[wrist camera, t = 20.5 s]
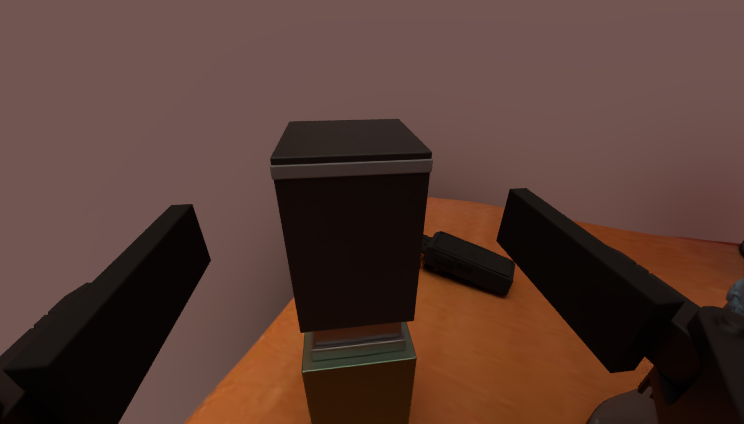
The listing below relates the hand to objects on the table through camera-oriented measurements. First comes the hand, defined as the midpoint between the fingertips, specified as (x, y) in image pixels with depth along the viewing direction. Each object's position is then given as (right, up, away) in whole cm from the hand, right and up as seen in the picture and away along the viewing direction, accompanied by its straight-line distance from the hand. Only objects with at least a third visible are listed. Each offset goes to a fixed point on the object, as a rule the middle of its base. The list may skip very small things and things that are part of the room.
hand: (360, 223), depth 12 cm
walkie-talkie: (+11, -8, +33) cm, 35 cm away
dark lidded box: (-1, -4, +7) cm, 8 cm away
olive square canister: (-1, -18, +14) cm, 23 cm away
